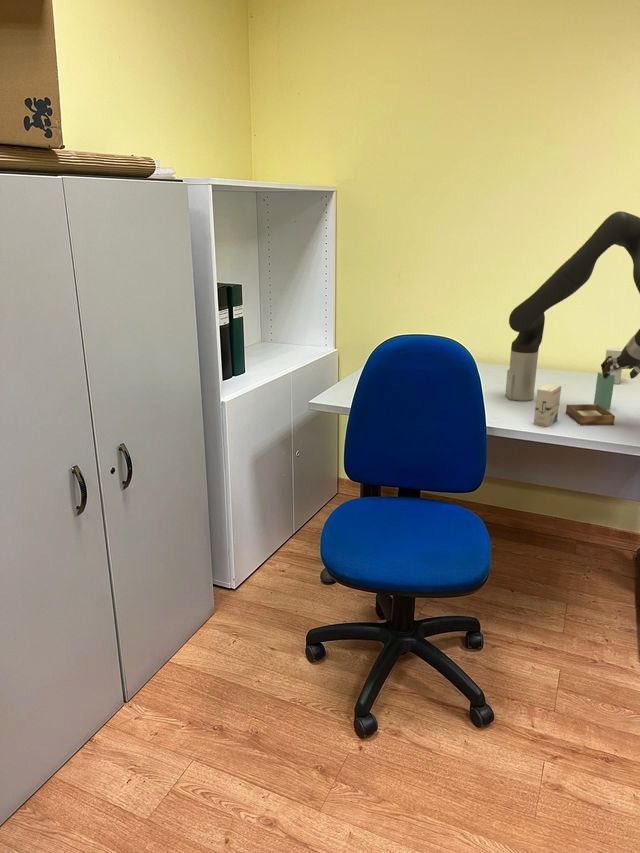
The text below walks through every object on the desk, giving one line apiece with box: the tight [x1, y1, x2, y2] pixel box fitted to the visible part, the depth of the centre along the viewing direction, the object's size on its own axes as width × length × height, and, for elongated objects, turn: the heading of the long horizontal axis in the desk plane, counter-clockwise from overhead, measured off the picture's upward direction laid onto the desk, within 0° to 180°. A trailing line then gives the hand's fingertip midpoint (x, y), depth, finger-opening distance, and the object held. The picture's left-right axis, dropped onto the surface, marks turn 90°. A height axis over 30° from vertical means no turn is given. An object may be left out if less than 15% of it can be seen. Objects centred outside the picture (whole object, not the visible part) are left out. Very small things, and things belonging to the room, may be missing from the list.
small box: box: [604, 345, 624, 385], centre depth 250 cm, size 8×6×13 cm
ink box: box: [533, 383, 562, 427], centre depth 203 cm, size 9×5×12 cm, turn 141°
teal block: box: [593, 371, 615, 411], centre depth 217 cm, size 4×4×12 cm
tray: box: [565, 403, 616, 426], centre depth 207 cm, size 11×13×3 cm
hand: (617, 376), depth 206 cm, fingers open, 8 cm apart
